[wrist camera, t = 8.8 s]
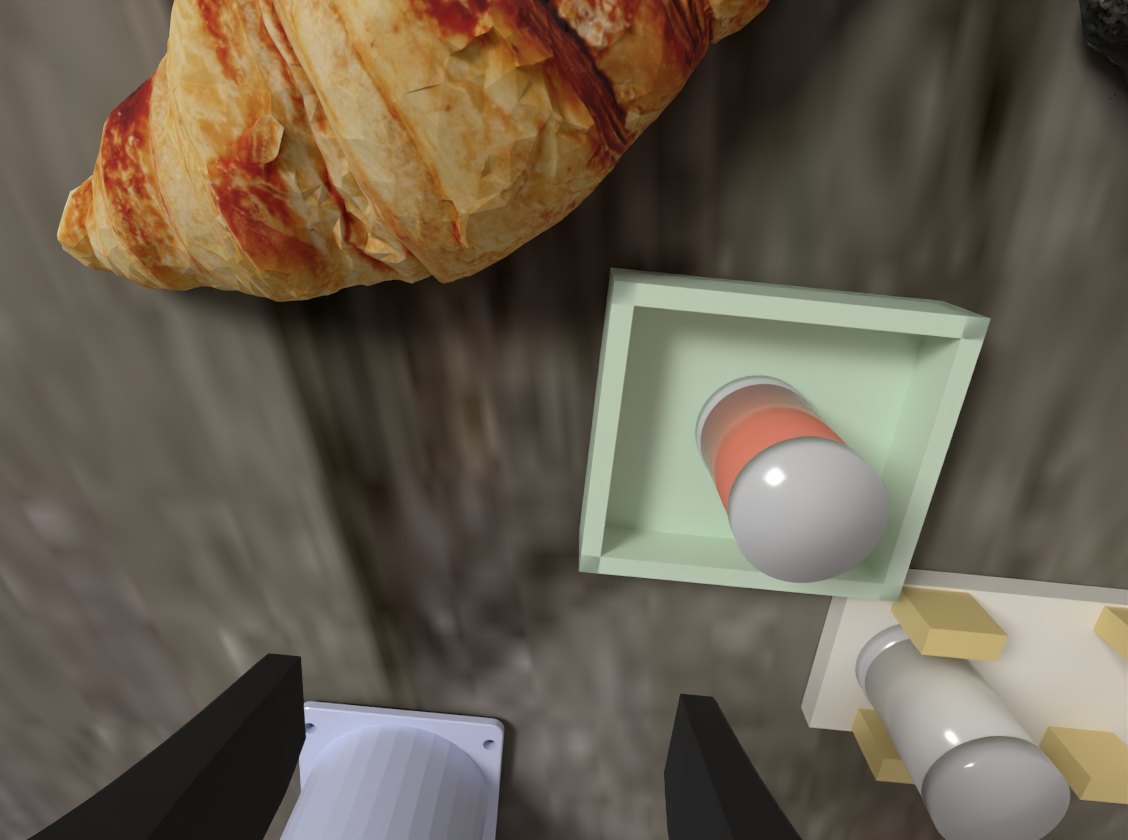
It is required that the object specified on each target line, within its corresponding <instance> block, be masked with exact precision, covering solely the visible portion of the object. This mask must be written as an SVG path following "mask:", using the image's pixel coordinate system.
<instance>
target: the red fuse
mask: <svg viewBox="0 0 1128 840" xmlns="http://www.w3.org/2000/svg"><path fill="white" fill-rule="evenodd" d="M695 439H696V445H697V448H698V451H699V453H700V456H701V458H702V461H703V463H704V465H705V466H706V468H707V470H708V471H709V473H710V475H711V478H712V480H713V482H714V485H715V487H716V489H717V492H718V494H719V497H720V499H721V501H722V504H723V506H724V508H725V511H726V513H727V515H728V520H729V524H730V527H731V530H732V532H733V535H734V537H735V540H736V542H737V544H738V547H739V549H740V550H741V552H742V554H743V555H744V557H745V558H746V559H747V561H748V562H750V563H751V564H752V565H753V566H754V567H755V568H756V569H758V570H759V571H760V572H762V573H764V574H766V575H768V576H770V577H772V578H775V579H778V580H782V581H786V582H793V583H811V582H818V581H823V580H827V579H830V578H833V577H836V576H838V575H841V574H843V573H845V572H847V571H848V570H850V569H852V568H853V567H855V566H856V565H858V564H859V563H860V562H861V561H863V560H864V559H865V558H866V557H867V556H868V555H869V554H870V553H871V551H872V550H873V549H874V548H875V546H876V545H877V544H878V542H879V541H880V539H881V537H882V535H883V533H884V530H885V527H886V524H887V520H888V515H889V502H888V495H887V492H886V488H885V486H884V484H883V482H882V480H881V478H880V477H879V475H878V474H877V473H876V471H875V470H874V469H873V468H872V467H871V466H870V465H869V464H868V463H867V462H866V461H865V460H864V459H863V458H862V457H861V456H860V455H859V454H858V453H857V452H856V451H854V450H853V449H852V448H850V447H849V446H848V445H847V444H846V443H845V442H844V441H843V440H842V439H841V438H840V437H839V436H838V435H837V434H836V433H835V432H834V431H833V430H832V429H831V428H830V427H829V426H828V425H827V424H826V422H825V421H824V420H823V419H822V418H821V417H820V416H819V415H818V414H817V413H816V412H815V411H814V410H813V409H812V407H811V406H810V404H809V403H808V401H807V400H806V399H805V398H804V397H803V396H802V395H801V394H800V393H799V392H798V391H797V390H796V389H795V388H794V387H792V386H791V385H790V384H788V383H786V382H785V381H782V380H780V379H778V378H774V377H770V376H763V375H754V376H746V377H742V378H738V379H736V380H733V381H731V382H729V383H727V384H725V385H724V386H722V387H721V388H719V389H718V390H717V391H715V392H714V393H713V394H712V395H711V396H710V397H709V398H708V400H707V401H706V402H705V404H704V405H703V407H702V409H701V411H700V413H699V416H698V418H697V422H696V428H695Z"/></svg>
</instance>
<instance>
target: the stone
mask: <svg viewBox="0 0 1128 840" xmlns="http://www.w3.org/2000/svg"><path fill="white" fill-rule="evenodd" d="M1079 3H1080V10H1081V16H1082V23H1083V30H1084V37H1085V40H1086V42H1087V44H1088V45H1089V46H1090V47H1092V48H1093V49H1094V50H1096V51H1099V52H1102V53H1105V54H1106V56H1107V57H1108V58H1109V59H1110V60H1111V61H1112V62H1113V63H1114V64H1115V65H1116V66H1117V68H1118V69H1119V71H1121V72H1123V73H1125V75H1126V79H1127V83H1128V0H1079ZM1114 96H1115V94H1114ZM1110 99H1111V98H1110Z"/></svg>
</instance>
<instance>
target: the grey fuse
mask: <svg viewBox="0 0 1128 840" xmlns="http://www.w3.org/2000/svg"><path fill="white" fill-rule="evenodd" d="M855 672H856V678H857V681H858V683H859V685H860V687H861V689H862V690H863V692H864V694H865V696H866V698H867V700H868V701H869V703H870V704H871V705H872V706H873V708H874V710H875V712H876V713H877V715H878V717H879V719H880V721H881V723H882V724H883V726H884V728H885V730H886V732H887V734H888V736H889V737H890V739H891V741H892V743H893V745H894V747H895V749H896V750H897V752H898V754H899V756H900V758H901V760H902V761H903V763H904V765H905V767H906V769H907V771H908V773H909V774H910V776H911V778H912V780H913V782H914V784H915V786H916V787H917V789H918V791H919V793H920V795H921V797H922V800H923V804H924V806H925V808H926V810H927V811H928V813H929V815H930V817H931V819H932V821H933V823H934V824H935V826H936V828H937V830H938V832H939V833H940V834H941V836H942V837H943V838H944V839H945V840H1039V839H1041V838H1042V837H1044V836H1045V835H1047V834H1048V833H1049V832H1050V831H1052V830H1053V829H1054V828H1055V827H1056V826H1057V825H1058V824H1059V822H1060V821H1061V820H1062V819H1063V817H1064V815H1065V814H1066V812H1067V809H1068V807H1069V803H1070V789H1069V786H1068V783H1067V781H1066V779H1065V778H1064V776H1063V775H1062V774H1061V773H1060V771H1059V770H1058V769H1057V767H1056V766H1055V765H1054V764H1053V762H1052V761H1051V760H1050V759H1049V757H1048V756H1047V755H1046V754H1045V753H1044V752H1043V750H1041V749H1040V748H1039V747H1038V746H1037V745H1036V744H1035V743H1034V741H1033V740H1032V739H1031V738H1030V736H1029V735H1028V734H1027V732H1026V731H1025V730H1024V729H1023V727H1022V726H1021V725H1020V724H1019V722H1018V721H1017V720H1016V719H1015V717H1014V716H1013V715H1012V713H1011V712H1010V711H1009V710H1008V708H1007V707H1006V706H1005V705H1004V703H1003V702H1002V701H1001V699H1000V698H999V697H998V696H997V694H996V693H995V692H994V691H993V689H992V688H991V687H990V686H989V684H988V683H987V682H986V680H985V679H984V678H983V677H982V675H981V674H980V673H979V672H978V670H977V669H976V668H975V666H974V665H973V664H972V663H971V661H970V660H969V659H962V658H951V657H941V656H930V655H921V654H920V652H919V651H918V650H917V648H916V647H915V645H914V644H913V642H912V641H911V640H910V638H909V637H908V635H907V634H906V632H905V631H904V629H903V628H902V627H901V625H900V624H898V625H894V626H891V627H889V628H887V629H885V630H883V631H881V632H879V633H878V634H876V635H875V636H874V637H872V638H871V639H870V640H869V641H868V642H867V643H866V644H865V645H864V647H863V648H862V650H861V651H860V653H859V655H858V658H857V661H856V666H855Z"/></svg>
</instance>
